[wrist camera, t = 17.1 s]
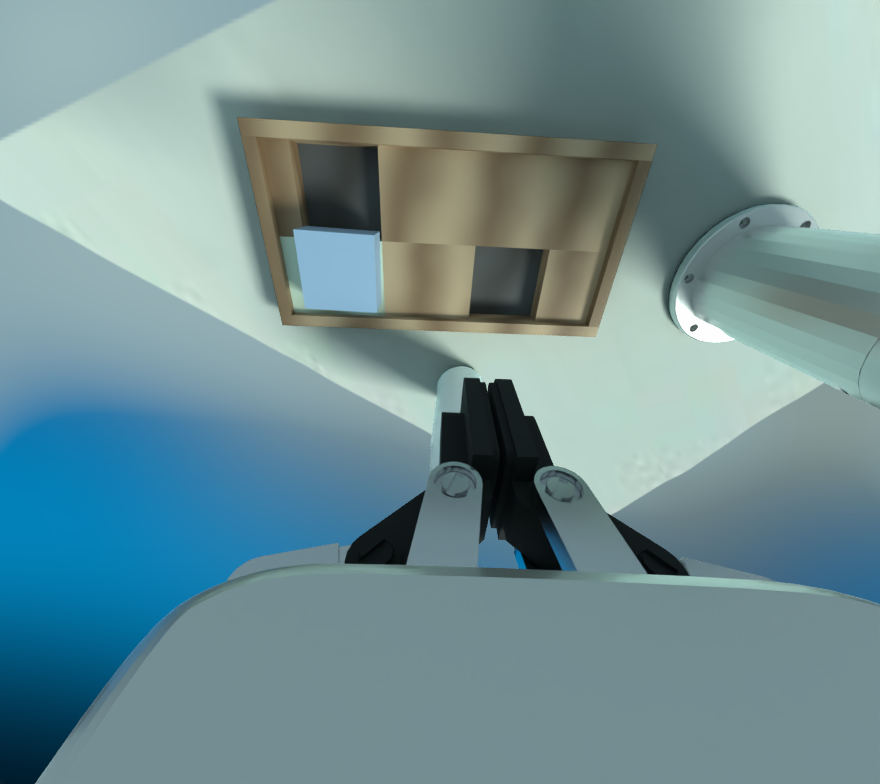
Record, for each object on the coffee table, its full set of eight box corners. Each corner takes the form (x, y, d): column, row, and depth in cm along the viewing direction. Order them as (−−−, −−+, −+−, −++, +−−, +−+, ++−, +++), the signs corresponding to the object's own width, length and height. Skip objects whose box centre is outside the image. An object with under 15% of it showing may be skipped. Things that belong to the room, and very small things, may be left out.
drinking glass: (426, 361, 36) (423, 456, 23) (488, 354, 35) (519, 446, 22) (434, 411, 39) (435, 517, 26) (490, 405, 39) (518, 509, 26)
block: (379, 231, 27) (374, 235, 24) (381, 302, 30) (376, 312, 27) (306, 225, 26) (292, 229, 24) (316, 298, 30) (305, 308, 27)
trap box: (636, 148, 26) (657, 144, 23) (584, 326, 34) (595, 336, 31) (255, 124, 25) (236, 117, 22) (293, 315, 32) (282, 325, 30)
